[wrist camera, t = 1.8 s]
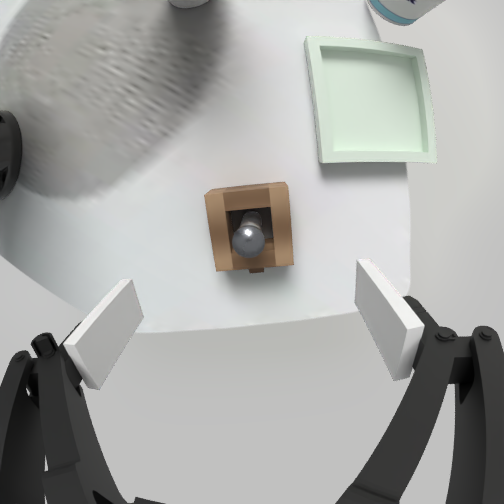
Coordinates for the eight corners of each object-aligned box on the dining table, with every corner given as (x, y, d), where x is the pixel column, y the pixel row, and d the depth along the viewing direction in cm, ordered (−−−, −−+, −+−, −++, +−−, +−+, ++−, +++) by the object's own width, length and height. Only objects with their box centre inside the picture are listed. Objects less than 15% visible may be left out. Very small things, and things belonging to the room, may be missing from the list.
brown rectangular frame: (211, 189, 30) (204, 195, 26) (284, 181, 29) (288, 186, 26) (223, 269, 33) (218, 285, 30) (291, 263, 33) (294, 278, 29)
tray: (319, 162, 28) (322, 163, 27) (303, 42, 24) (306, 36, 22) (428, 161, 27) (436, 163, 26) (414, 53, 23) (422, 49, 21)
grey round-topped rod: (240, 233, 32) (234, 259, 25) (237, 209, 31) (230, 228, 24) (265, 231, 31) (266, 256, 24) (263, 207, 30) (263, 225, 23)
